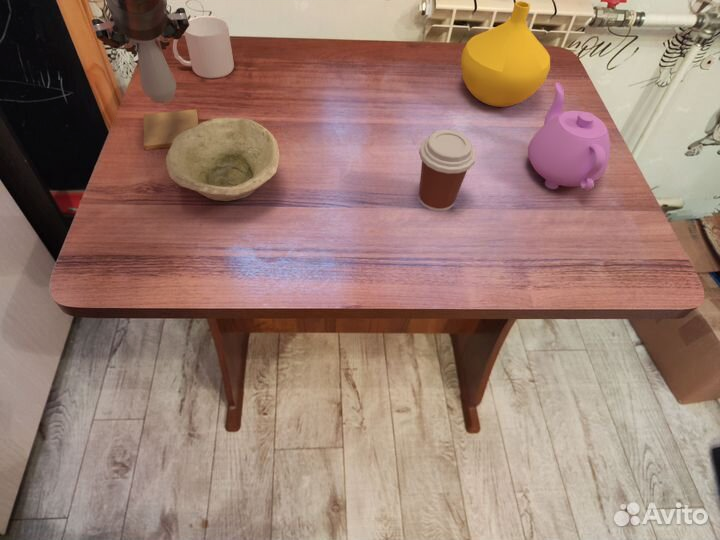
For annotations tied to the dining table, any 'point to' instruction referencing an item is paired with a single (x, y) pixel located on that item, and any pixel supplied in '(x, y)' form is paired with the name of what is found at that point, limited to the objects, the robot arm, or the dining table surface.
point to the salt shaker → (155, 72)
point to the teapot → (570, 146)
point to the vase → (505, 62)
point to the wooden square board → (167, 127)
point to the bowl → (223, 158)
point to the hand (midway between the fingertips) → (147, 45)
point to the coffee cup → (443, 168)
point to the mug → (208, 47)
